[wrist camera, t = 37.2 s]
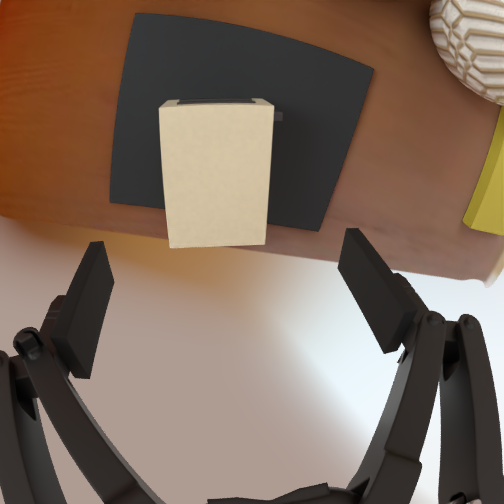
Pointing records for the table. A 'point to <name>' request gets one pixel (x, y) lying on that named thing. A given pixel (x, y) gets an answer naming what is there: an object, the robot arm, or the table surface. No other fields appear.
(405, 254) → the table surface
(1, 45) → the table surface
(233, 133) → the toaster
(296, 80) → the mat
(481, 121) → the table surface
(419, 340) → the robot arm
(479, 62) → the vase
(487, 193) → the flat olive board
